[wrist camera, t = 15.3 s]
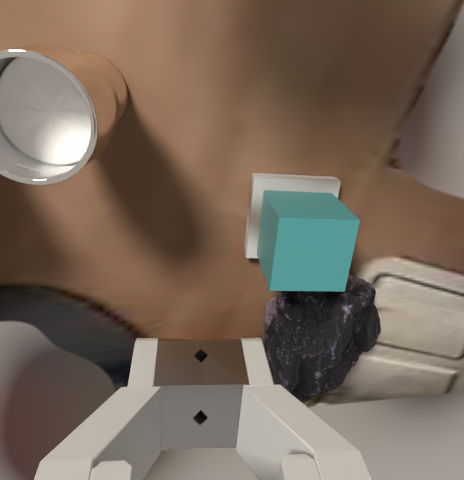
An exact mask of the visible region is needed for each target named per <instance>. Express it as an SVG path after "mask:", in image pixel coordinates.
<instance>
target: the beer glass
mask: <svg viewBox="0 0 464 480" xmlns="http://www.w3.org/2000/svg"><path fill="white" fill-rule="evenodd" d="M127 100H128V93H127V87H126V84H125V81H124V78H123V77H122V75H121V73H120V72H119V70H118V69H117V68H116V67H115V66H114V65H113V64H112V63H111V62H110V61H109V60H107V59H106V58H104V57H102V56H100V55H97V54H94V53H89V52H79V53H77V52H75V51H72V50H70V49H67V48H63V47H58V46H52V45H28V46H21V47H17V48H13V49H7V50H1V51H0V174H1V175H3V176H4V177H7V178H9V179H11V180H14V181H17V182H20V183H24V184H30V185H49V184H54V183H58V182H61V181H64V180H66V179H68V178H70V177H72V176H73V175H75V174H76V173H78V172H79V171H80V170H81V169H82V168H83V167H85V166H86V165H88V164H89V163H90V162H91V161H93V160H94V159H95V158H96V157H97V156H98V155H99V154H100V153H101V152H102V150H103V149H104V148H105V146H106V145H107V143H108V141H109V140H110V138H111V136H112V134H113V131H114V128H115V124H116V123H117V122H118V121H119V120H120V118H121V117H122V116H123V114H124V112H125V109H126V106H127Z"/></svg>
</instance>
